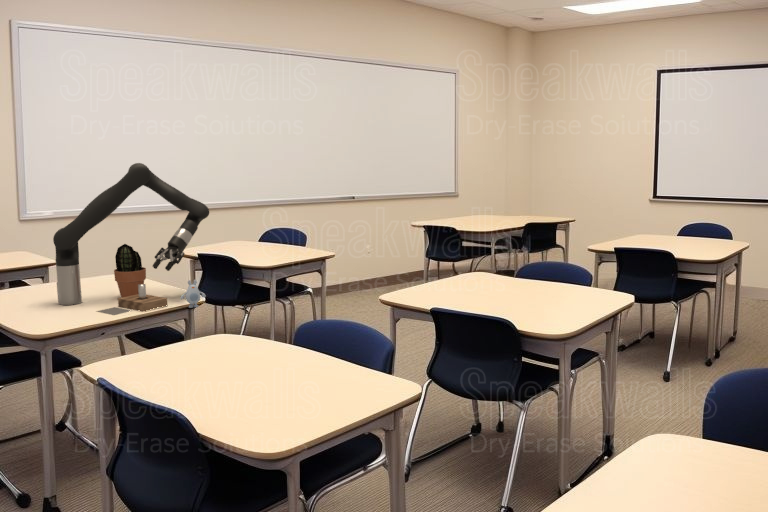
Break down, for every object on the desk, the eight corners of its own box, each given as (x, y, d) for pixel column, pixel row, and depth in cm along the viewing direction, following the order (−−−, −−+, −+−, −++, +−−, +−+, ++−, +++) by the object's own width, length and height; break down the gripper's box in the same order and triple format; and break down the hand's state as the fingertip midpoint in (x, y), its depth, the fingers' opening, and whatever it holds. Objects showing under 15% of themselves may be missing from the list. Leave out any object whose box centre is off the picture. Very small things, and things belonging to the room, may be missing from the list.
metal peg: (137, 307, 294) (136, 284, 292) (143, 306, 297) (142, 283, 295) (142, 308, 292) (141, 285, 291) (148, 307, 295) (146, 284, 293)
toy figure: (181, 310, 290) (180, 282, 288) (179, 306, 295) (178, 279, 293) (207, 307, 294) (206, 280, 292) (204, 304, 299) (203, 277, 298)
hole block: (118, 307, 294) (117, 298, 293) (142, 302, 304) (141, 293, 303) (144, 312, 285) (143, 303, 284) (167, 307, 295) (167, 298, 294)
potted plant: (148, 299, 311) (145, 244, 307) (116, 301, 305) (113, 246, 301) (146, 293, 323) (142, 240, 319) (115, 295, 317) (111, 242, 314)
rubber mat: (95, 312, 286) (95, 311, 286) (114, 308, 293) (114, 307, 293) (113, 316, 279) (113, 315, 279) (132, 311, 287) (132, 310, 286)
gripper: (164, 233, 312) (144, 262, 304) (186, 236, 304) (166, 265, 296) (174, 244, 317) (155, 272, 309) (195, 246, 309) (176, 275, 302)
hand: (160, 268), depth 303 cm, fingers open, 8 cm apart
